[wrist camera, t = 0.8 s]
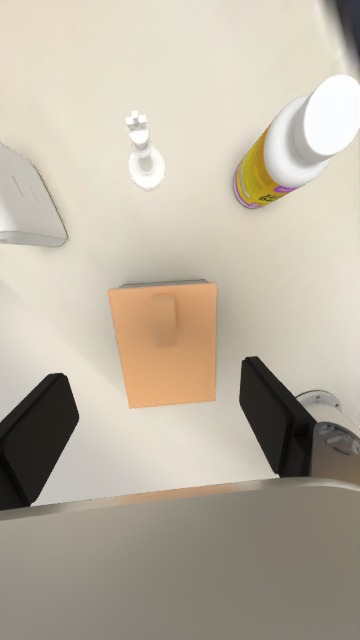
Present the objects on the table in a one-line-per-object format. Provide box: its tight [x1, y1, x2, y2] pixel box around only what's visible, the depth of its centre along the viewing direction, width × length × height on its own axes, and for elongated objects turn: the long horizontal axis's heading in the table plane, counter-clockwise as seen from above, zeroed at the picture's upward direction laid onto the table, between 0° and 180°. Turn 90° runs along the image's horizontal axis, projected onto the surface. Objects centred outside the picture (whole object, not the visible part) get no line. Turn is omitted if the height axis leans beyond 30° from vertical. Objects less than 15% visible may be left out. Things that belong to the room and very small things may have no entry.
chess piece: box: [126, 110, 166, 191], centre depth 20 cm, size 5×5×10 cm
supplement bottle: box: [234, 74, 360, 208], centre depth 20 cm, size 7×7×13 cm
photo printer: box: [0, 142, 67, 247], centre depth 19 cm, size 10×4×12 cm, turn 17°
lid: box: [108, 282, 217, 409], centre depth 24 cm, size 19×14×7 cm
